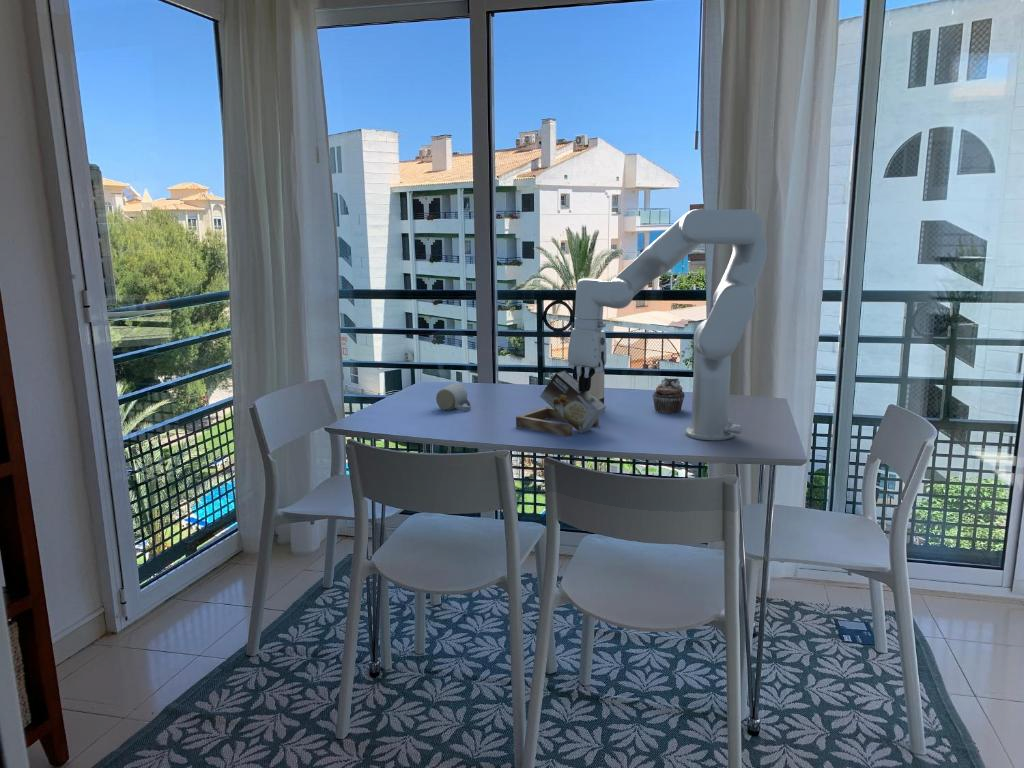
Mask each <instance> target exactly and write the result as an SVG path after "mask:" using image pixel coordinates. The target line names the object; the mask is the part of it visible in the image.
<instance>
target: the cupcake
mask: <svg viewBox="0 0 1024 768" xmlns="http://www.w3.org/2000/svg"><path fill="white" fill-rule="evenodd" d="M680 382H681V381H680V379H679V378H667V377H664V378H662V379H661V383H659V384H658V385H657V387H656V388H655V391H654V393H653V394H652V399H653V406H654V409H655V410H656V411H658V412H657V413H659V412H662V413H661V414H665V413H674V414H678V413H677V412H679V413H681V412H680V411H682V408H683V404H684V403H683V402H684V400H685V393H684V391H683V387H682V385H680V384H681V383H680ZM656 411H655V412H656Z"/></svg>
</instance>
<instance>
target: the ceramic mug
mask: <svg viewBox="0 0 1024 768" xmlns="http://www.w3.org/2000/svg"><path fill="white" fill-rule="evenodd" d="M435 398H436V399H435V400H436V401H435V402H436V404H437V406H438V407H439V408H440V410H443V409H444V410H443V411H452V410H455V409H457V410H460V411H462V410H468V409H470V410H471V409H472V402H471V401H470V400H469V399H468V391H467V390H466V388H465V387H464V386H463V385H462V384H461V383H458V382H454V383H450V384H448V385H447V386H445V387H442V389H441V388H440V390H439V391H438V392H437V394H436V397H435ZM465 404H466V406H464V405H465ZM451 409H452V410H451ZM468 411H469V410H468Z"/></svg>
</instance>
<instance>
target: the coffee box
mask: <svg viewBox="0 0 1024 768" xmlns="http://www.w3.org/2000/svg"><path fill="white" fill-rule="evenodd" d="M578 384H579V382H578V381H577V379H576V378H575V377H573V376H572V375H571V374H570V373H569V372H568V371H567V370H561V371H558V372H555V373H554V375H553V376H552V378H551V379H550V381H549V382H548V384H547V385H546V386H545V388H544V390H542V392H541V394H540V395H539V397H540V398H541V399H542V400H543V401H544V402H545V403H546V404H548V406H550V407H551V408H553V409H554V410H555V411H557V412H558V413H559V414H560V415H561V416H562V417H563V418H564V419H565V420H566V421H565V422H567V421H568V422H567V423H568V424H569V425H572V428H574V429H575V430H577V432H578V433H580V434H583V433H585V432H587V431H589V430H590V429H591V428H592V427H593V426H592V425H593V424H594V423H595V422H596V420H597V419H598V418H599V419H600V416H601V415H602V413H603V412H604V411H605V410H606V409H607V406H606V404H605V403H604V404H603V403H602V402H601V401H599V400H598V399H597V398H596V397H595V396H594V395H593V394H592V393H590V392H589V391H586V392H582V391H579V386H578Z"/></svg>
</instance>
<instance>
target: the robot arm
mask: <svg viewBox="0 0 1024 768" xmlns="http://www.w3.org/2000/svg"><path fill="white" fill-rule="evenodd" d="M701 244H702V245H732V253H731V256H730V259H729V261H728V264H727V266H726V269H725V270H724V271H725V272H724V273H723V275H722V277H721V280H720V282H719V284H718V285H717V288H716V289H715V291H714V293H713V296H712V304H713V305H712V308H711V311H710V313H709V314H708V317H707V319H704V320H702V321H701V322H700V323H699V324H698V325H697V326H696V328H695V331H694V334H693V377H692V379H693V380H692V407H691V408H692V410H691V412H692V413H691V425H690V426H688V427H687V428H686V429H685V435H687V436H689V437H690V438H692V439H697V440H703V441H724V440H729V439H732V438H733V437H734V436H735V434H736V435H741V434H742V433H743V427H742V425H740V424H734V423H733V418H729V412H730V411H729V409H730V389H731V388H730V385H731V367H732V365H731V362H732V361H731V359H732V357H731V355H732V354H733V352H734V351H735V350H736V348H737V346H738V344H739V342H740V340H741V338H742V337H743V334H744V332H745V330H746V327H747V325H748V323H749V321H750V320H751V318H752V315H753V312H754V311H755V305H756V297H755V294H754V290H755V288H756V286H757V284H758V281H759V278H760V276H761V274H762V272H763V270H764V266H765V263H766V260H767V253H768V246H767V241H766V236H765V234H764V220H763V218H762V216H761V215H760V214H759V213H758V212H756V211H755V210H752V209H748V208H747V209H742V208H740V209H706V208H697V209H696V208H695V209H692V210H689V211H688V212H686V213H685V214H683V215H682V216H681V217H680V218H678V220H677V221H675V222H674V223H673V224H672V225H671V226H670V227H669V228H667V229H666V231H664V232H663V233H662V234H661V235H659V236H658V237H657V238H656V239H655V240H654V241H652V243H650V244H649V245H648V246H647V247H646V248H645V249H644V250H643V251H642V253H640V254H639V255H638V256H637V257H636V258H635V259H634V260H633V261H631V262H630V263H629V264H627V266H626V267H625V268H624V269H623V270H622V271H621V272H619V273H618V274H617V275H616V276H614V278H612V279H611V280H608V281H606V280H605V281H603V280H602V279H598V278H580V279H578V280H577V282H576V291H575V304H574V305H575V307H574V326H573V327H574V328H573V327H572V330H571V333H570V336H569V341H568V348H567V349H568V350H567V361H568V365H567V367H569V368H571V369H572V370H574V371H575V373H576V377H577V376H578V377H579V384H578V386H579V391H582V392H586V391H589V390H590V387H591V377H593V375H594V374H595V373H599V372H603V371H604V372H605V369H604V370H603V366H604V367H605V366H606V365H607V340H606V339H607V338H606V332H605V330H603V328H604V329H606V326H607V323H606V322H604V319H603V317H604V316H603V315H604V308H609V309H610V308H611V309H617V310H621V309H625V308H626V307H628V306H629V305H630V304H631V302H632V301H633V298H634V297H635V296H637V294H639V293H640V292H641V291H642V290H644V288H645V287H647V286H648V285H649V284H650V283H652V282H653V281H654V280H656V279H657V278H659V277H661V276H663V275H665V274H667V273H668V272H669V271H671V270H672V269H674V268H675V266H677V265H678V264H680V262H681V261H682V260H684V259H685V258H686V257H687V256H688V255H690V254H691V253H692V252H694V250H695V249H696V248H698V247H699V246H700V245H701ZM596 367H597V368H596Z"/></svg>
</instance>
